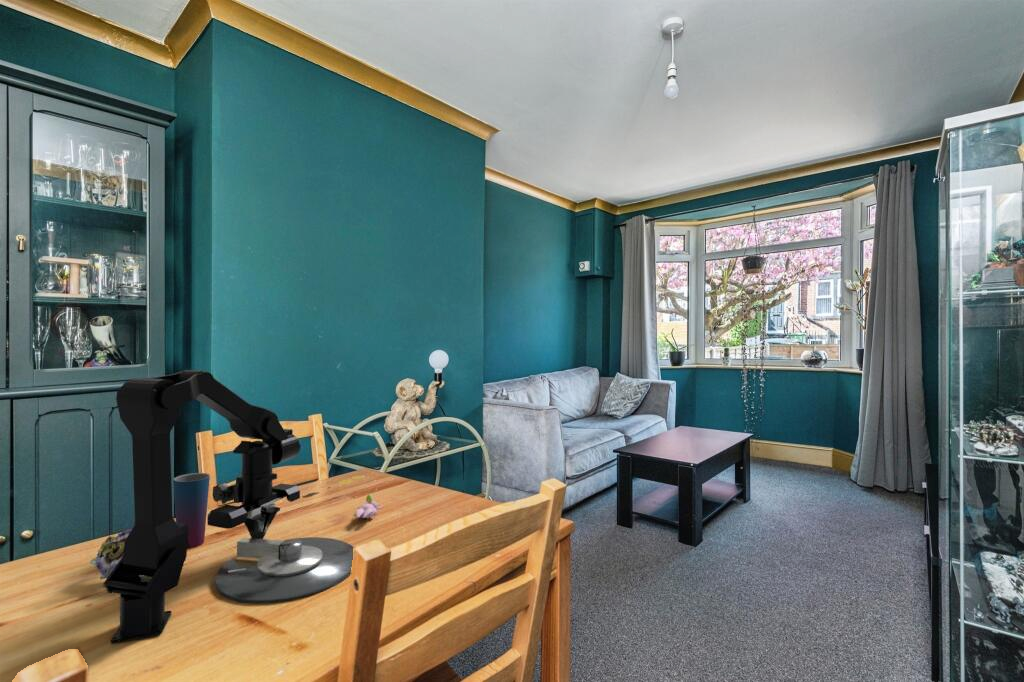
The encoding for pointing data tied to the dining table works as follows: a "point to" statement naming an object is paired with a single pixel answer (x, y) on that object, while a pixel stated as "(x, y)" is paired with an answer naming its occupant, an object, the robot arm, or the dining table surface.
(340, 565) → the dial plate
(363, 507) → the purple flower
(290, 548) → the dial
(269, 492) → the robot arm
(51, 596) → the dining table surface
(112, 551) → the passion flower
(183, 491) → the cup
